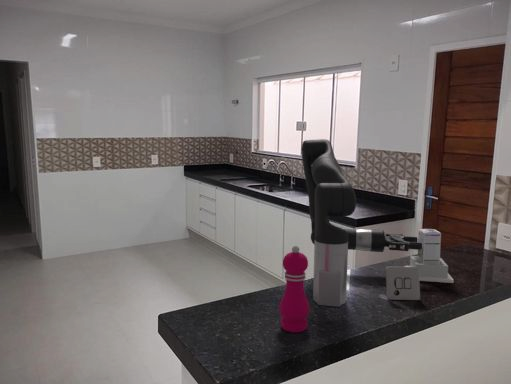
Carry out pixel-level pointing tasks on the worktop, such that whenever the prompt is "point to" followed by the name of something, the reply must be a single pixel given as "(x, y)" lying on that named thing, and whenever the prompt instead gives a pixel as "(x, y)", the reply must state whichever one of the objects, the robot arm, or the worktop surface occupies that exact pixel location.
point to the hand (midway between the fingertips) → (419, 243)
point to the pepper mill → (294, 292)
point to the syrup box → (429, 246)
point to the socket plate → (432, 271)
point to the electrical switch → (402, 283)
